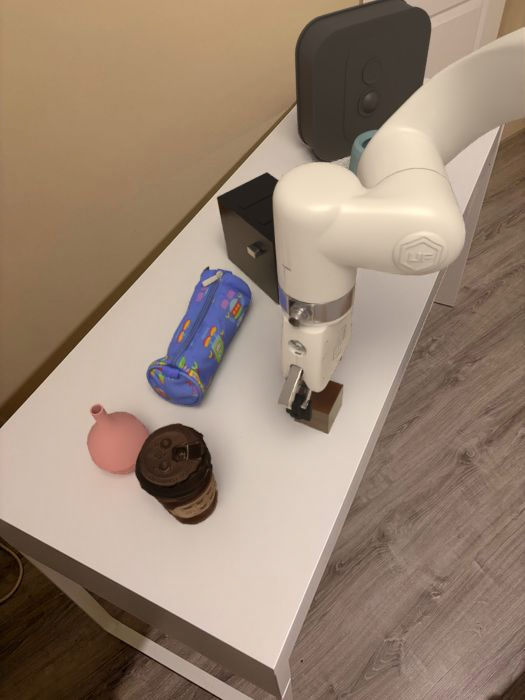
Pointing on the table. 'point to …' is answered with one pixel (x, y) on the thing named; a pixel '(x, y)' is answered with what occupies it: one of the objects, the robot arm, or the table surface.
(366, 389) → the table surface
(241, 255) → the toaster
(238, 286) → the pencil case
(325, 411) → the block
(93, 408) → the perfume bottle
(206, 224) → the table surface
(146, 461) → the coffee cup
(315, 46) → the speaker
